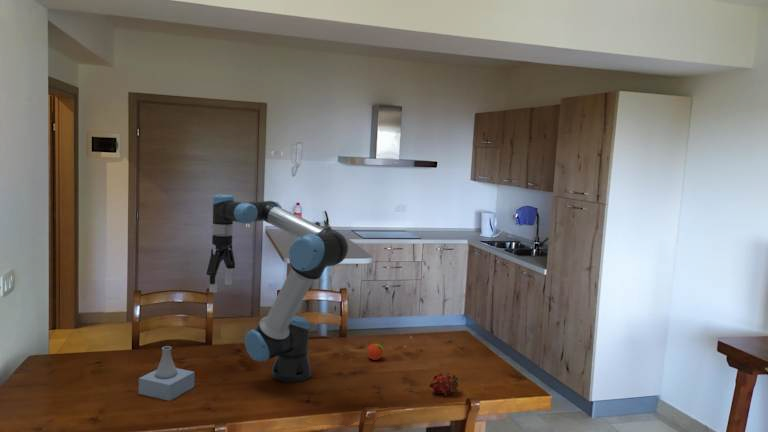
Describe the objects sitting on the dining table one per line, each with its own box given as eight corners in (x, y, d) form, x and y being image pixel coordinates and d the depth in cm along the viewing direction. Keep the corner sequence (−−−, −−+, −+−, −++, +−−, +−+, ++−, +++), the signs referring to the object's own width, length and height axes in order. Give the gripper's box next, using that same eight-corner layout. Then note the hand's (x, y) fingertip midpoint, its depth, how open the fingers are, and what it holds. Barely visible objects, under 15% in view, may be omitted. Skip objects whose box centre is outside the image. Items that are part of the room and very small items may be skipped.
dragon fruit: (460, 396, 207) (431, 404, 203) (451, 377, 213) (422, 384, 209) (465, 384, 201) (435, 392, 198) (455, 365, 207) (426, 371, 203)
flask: (168, 380, 190) (169, 352, 189) (150, 377, 191) (151, 349, 190) (181, 372, 197) (182, 345, 196) (163, 369, 198) (164, 342, 197)
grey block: (194, 387, 199) (194, 371, 198) (169, 402, 187) (169, 385, 186) (164, 381, 203) (165, 365, 202) (138, 394, 191) (138, 378, 190)
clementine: (387, 359, 237) (388, 343, 236) (378, 364, 231) (379, 347, 230) (372, 355, 241) (373, 339, 240) (363, 359, 235) (364, 343, 235)
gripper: (226, 230, 226) (225, 280, 228) (197, 238, 201) (196, 294, 204) (244, 231, 225) (242, 282, 227) (217, 239, 200) (215, 296, 203)
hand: (220, 288), depth 215 cm, fingers open, 13 cm apart
